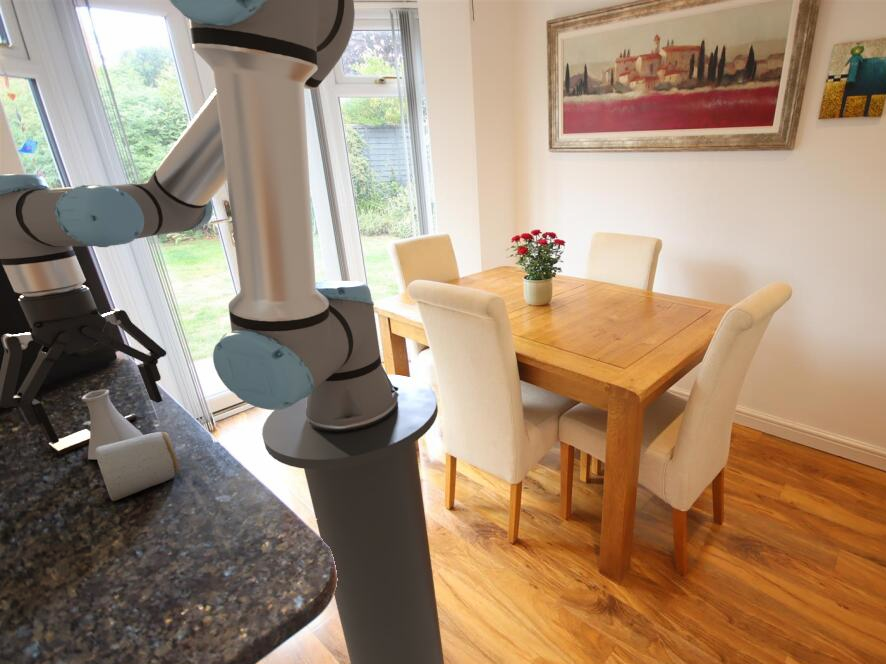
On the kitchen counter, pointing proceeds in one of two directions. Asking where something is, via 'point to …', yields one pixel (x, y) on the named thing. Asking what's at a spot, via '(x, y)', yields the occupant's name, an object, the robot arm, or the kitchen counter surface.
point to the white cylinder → (137, 464)
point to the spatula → (77, 439)
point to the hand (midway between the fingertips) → (108, 419)
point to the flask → (106, 422)
